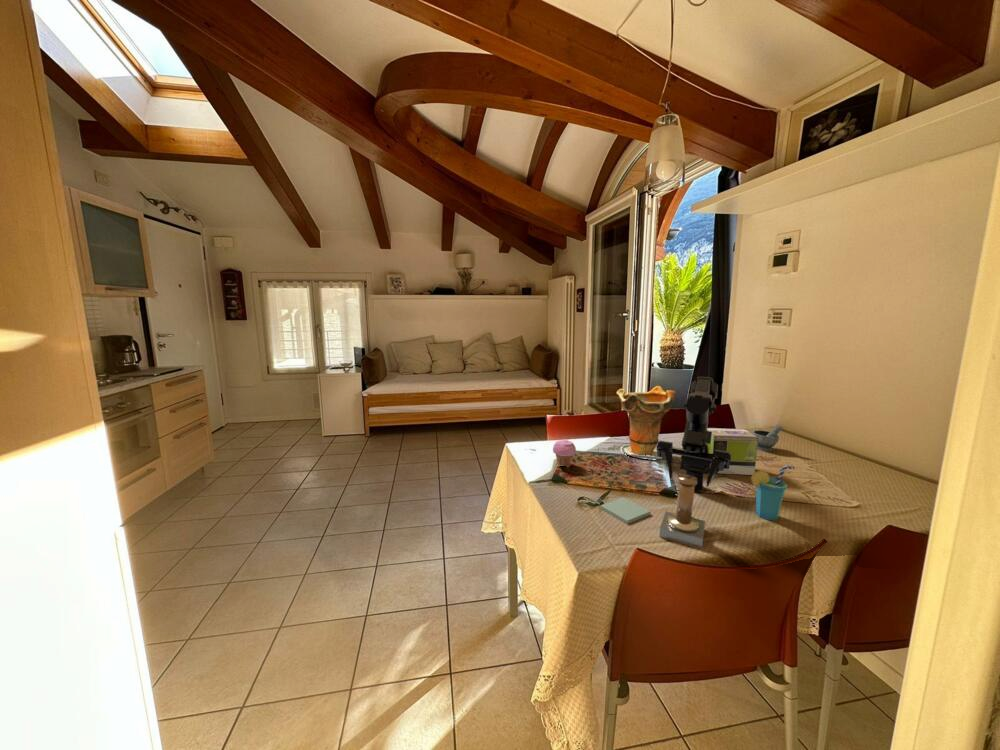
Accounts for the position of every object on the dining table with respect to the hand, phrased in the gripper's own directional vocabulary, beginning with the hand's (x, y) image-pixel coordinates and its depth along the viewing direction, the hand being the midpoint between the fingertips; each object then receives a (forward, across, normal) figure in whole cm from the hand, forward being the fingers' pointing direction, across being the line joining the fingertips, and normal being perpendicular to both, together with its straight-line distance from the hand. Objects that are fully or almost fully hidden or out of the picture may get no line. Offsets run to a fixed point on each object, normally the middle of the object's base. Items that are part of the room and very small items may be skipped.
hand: (688, 482), depth 110 cm
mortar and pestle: (-50, +24, +68) cm, 88 cm away
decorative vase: (-28, -21, +46) cm, 58 cm away
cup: (-4, +21, +22) cm, 30 cm away
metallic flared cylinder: (+13, 0, +4) cm, 14 cm away
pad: (+10, -16, +7) cm, 20 cm away
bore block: (+13, 0, +5) cm, 14 cm away
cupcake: (-7, -44, +25) cm, 51 cm away
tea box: (-27, +10, +45) cm, 53 cm away
